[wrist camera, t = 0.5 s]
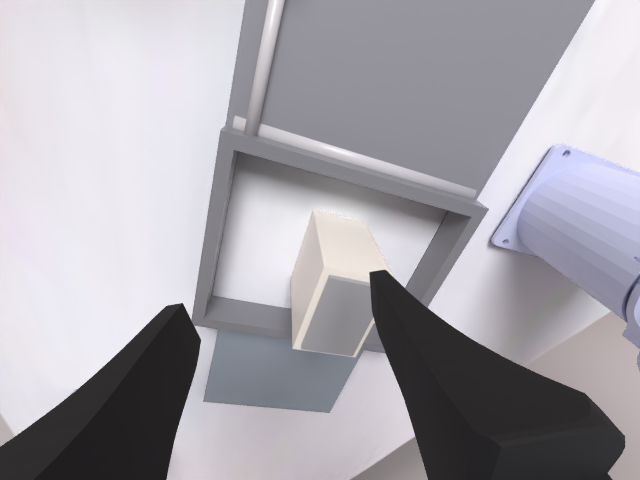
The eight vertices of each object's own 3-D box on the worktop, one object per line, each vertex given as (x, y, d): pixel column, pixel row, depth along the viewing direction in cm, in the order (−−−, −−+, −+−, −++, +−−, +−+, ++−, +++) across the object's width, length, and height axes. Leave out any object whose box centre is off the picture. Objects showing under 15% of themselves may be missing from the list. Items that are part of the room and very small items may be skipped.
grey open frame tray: (600, -33, 16) (657, -51, 13) (389, 332, 28) (398, 357, 25) (284, -217, 12) (283, -291, 9) (199, 301, 24) (189, 328, 21)
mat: (366, 337, 28) (367, 342, 27) (328, 407, 33) (329, 412, 32) (221, 314, 25) (220, 319, 24) (204, 395, 30) (203, 401, 29)
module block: (365, 222, 22) (397, 285, 16) (338, 286, 25) (356, 361, 18) (313, 208, 21) (324, 270, 15) (290, 276, 24) (292, 353, 17)
